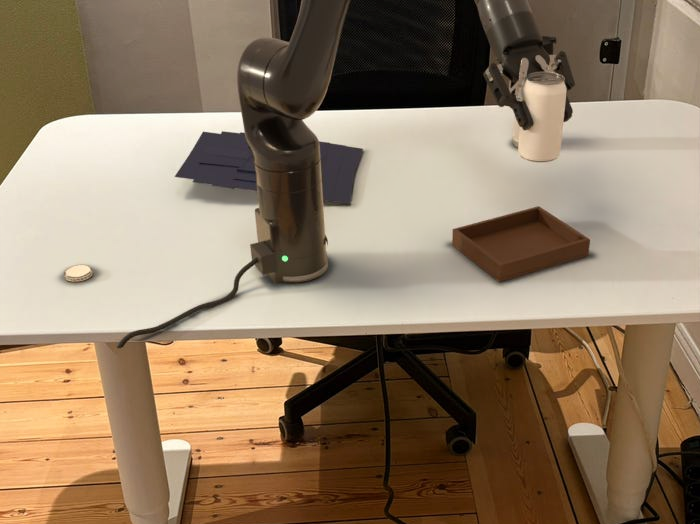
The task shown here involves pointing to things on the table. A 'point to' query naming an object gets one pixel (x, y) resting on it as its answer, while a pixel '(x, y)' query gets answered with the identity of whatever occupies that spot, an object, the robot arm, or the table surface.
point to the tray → (520, 243)
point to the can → (543, 117)
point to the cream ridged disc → (78, 273)
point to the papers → (239, 171)
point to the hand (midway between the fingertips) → (548, 123)
